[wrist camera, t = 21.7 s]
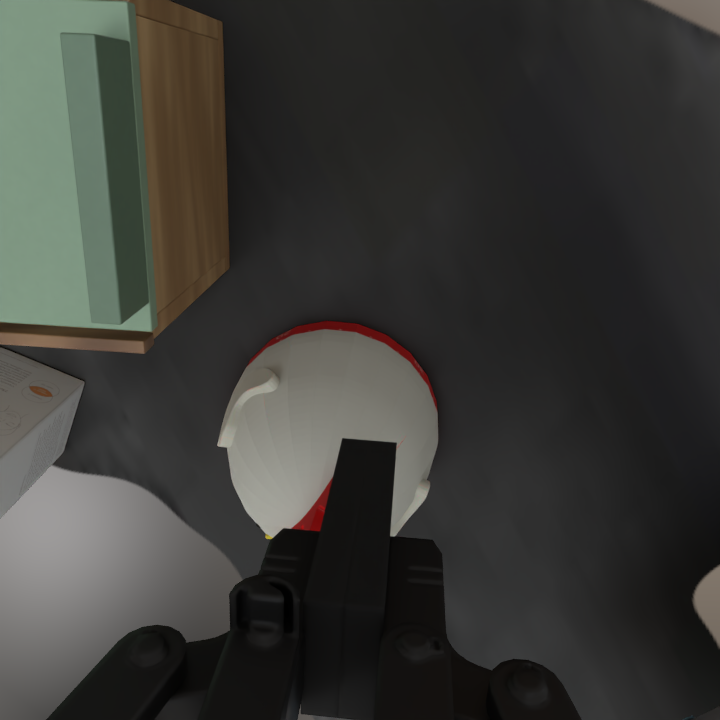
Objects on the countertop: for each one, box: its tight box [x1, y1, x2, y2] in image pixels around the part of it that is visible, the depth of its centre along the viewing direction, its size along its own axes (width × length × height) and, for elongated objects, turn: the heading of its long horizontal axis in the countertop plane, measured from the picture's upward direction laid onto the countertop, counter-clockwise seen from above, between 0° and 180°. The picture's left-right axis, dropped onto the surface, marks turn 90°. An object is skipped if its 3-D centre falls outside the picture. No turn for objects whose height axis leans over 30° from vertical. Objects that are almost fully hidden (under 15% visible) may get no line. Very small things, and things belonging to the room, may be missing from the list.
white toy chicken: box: [217, 321, 438, 539], centre depth 39 cm, size 14×14×15 cm
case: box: [0, 0, 230, 354], centre depth 33 cm, size 14×14×15 cm
